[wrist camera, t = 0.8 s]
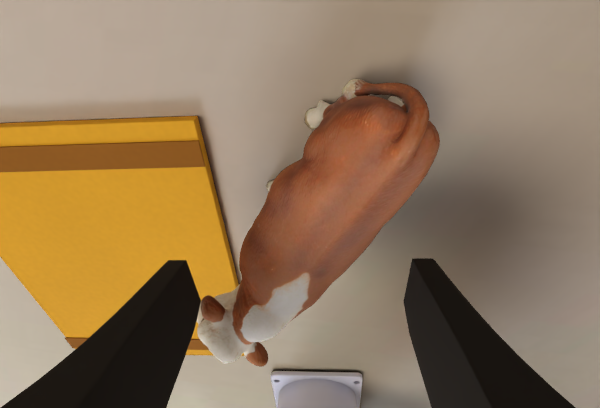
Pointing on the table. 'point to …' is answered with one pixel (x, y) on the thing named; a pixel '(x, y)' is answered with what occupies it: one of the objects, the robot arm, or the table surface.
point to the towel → (108, 214)
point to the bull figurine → (322, 213)
